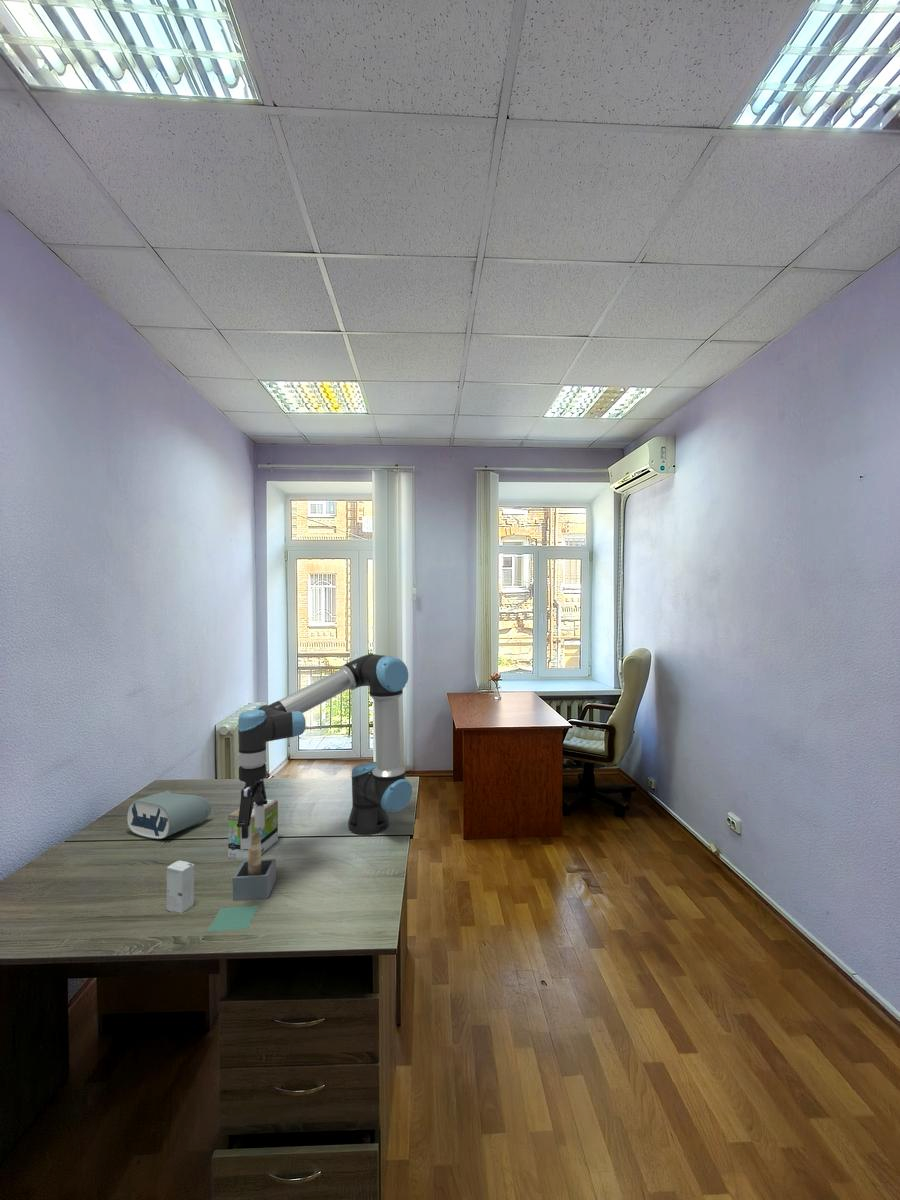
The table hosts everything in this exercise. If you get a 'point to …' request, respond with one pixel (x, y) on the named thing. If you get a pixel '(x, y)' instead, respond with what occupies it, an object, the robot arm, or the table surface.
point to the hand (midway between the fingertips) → (253, 837)
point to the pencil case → (166, 814)
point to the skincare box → (180, 886)
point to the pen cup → (254, 881)
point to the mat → (233, 918)
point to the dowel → (254, 855)
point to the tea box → (253, 830)
